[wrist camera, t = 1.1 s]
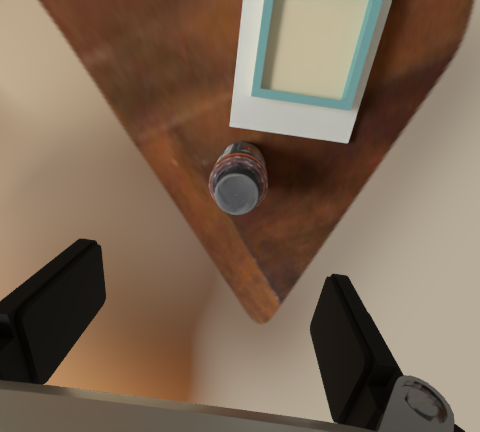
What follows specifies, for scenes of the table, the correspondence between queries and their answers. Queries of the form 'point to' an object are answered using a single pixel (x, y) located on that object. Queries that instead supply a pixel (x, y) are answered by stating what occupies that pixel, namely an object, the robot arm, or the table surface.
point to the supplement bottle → (239, 178)
